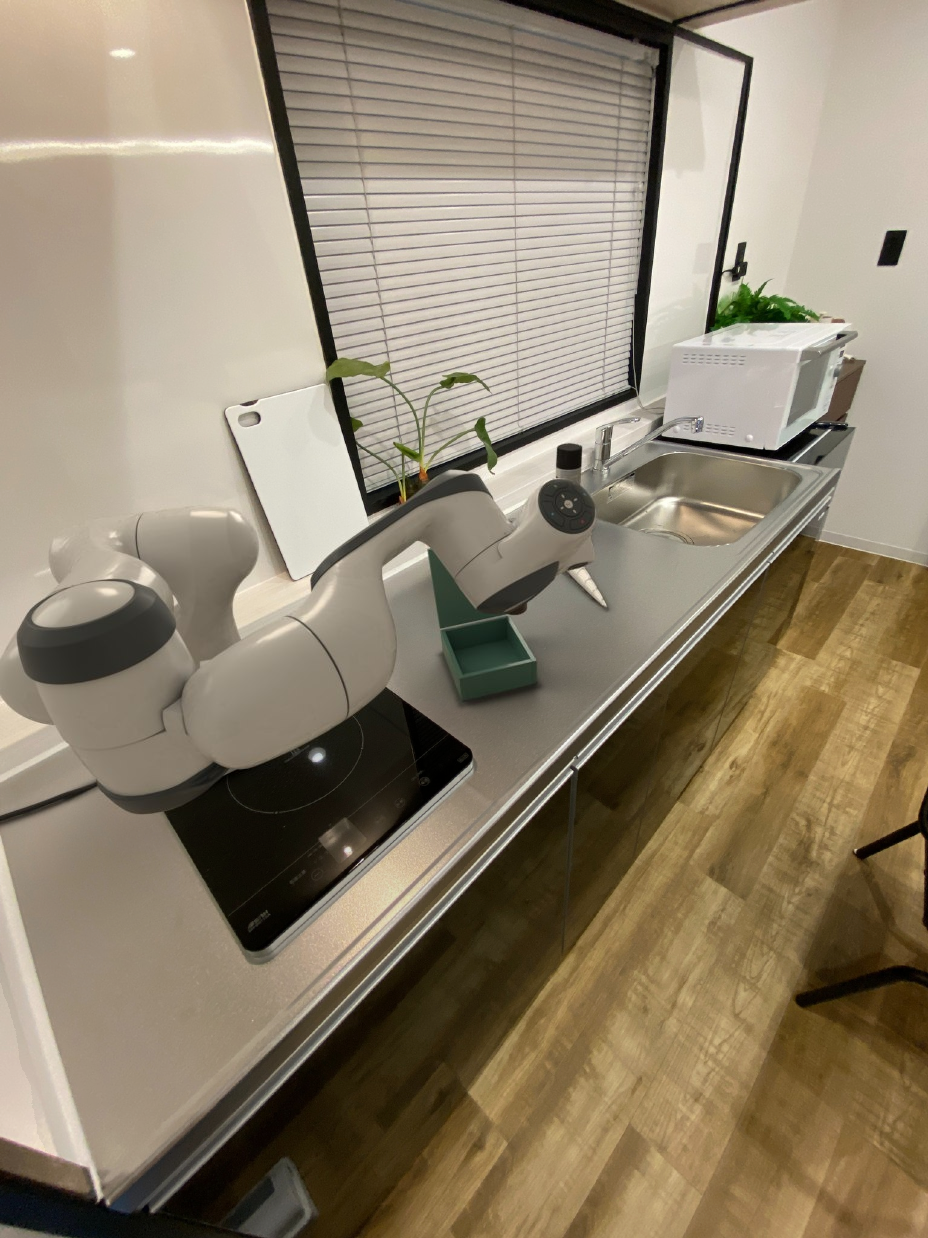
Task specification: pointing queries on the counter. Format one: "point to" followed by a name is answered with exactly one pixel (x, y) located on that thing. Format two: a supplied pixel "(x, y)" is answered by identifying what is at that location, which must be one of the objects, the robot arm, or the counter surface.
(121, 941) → the counter surface
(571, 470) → the spray can
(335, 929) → the counter surface
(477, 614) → the lid
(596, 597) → the unicorn horn
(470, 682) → the chest
